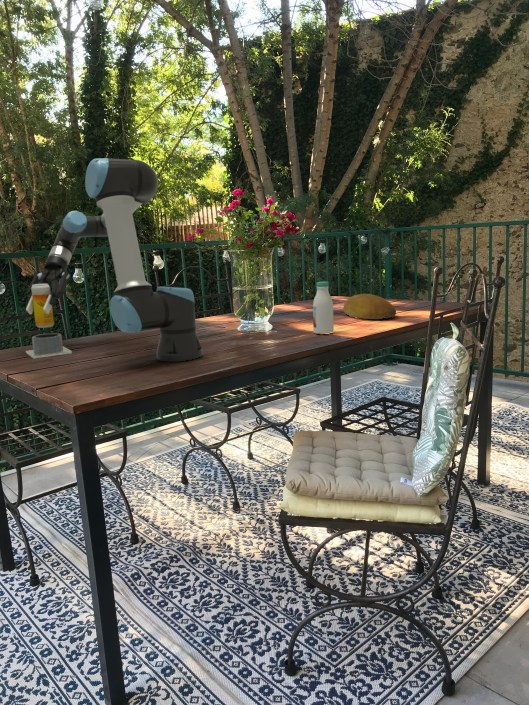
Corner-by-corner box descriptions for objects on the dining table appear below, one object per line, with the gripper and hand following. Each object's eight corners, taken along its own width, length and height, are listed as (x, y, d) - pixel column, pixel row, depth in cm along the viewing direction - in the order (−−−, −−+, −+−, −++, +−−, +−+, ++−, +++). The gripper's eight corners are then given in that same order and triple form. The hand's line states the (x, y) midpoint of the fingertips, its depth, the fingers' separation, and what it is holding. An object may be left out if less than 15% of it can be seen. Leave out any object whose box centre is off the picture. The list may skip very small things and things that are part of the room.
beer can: (48, 328, 202) (43, 285, 199) (32, 328, 204) (27, 285, 201) (57, 325, 208) (52, 283, 205) (42, 325, 210) (37, 283, 206)
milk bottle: (336, 332, 225) (336, 281, 221) (328, 335, 219) (327, 282, 215) (319, 331, 229) (318, 280, 225) (310, 334, 223) (308, 282, 219)
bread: (367, 310, 285) (367, 290, 283) (404, 319, 252) (404, 296, 250) (332, 313, 280) (332, 292, 278) (365, 323, 247) (365, 299, 245)
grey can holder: (71, 353, 206) (70, 335, 204) (33, 358, 199) (31, 340, 197) (62, 348, 216) (60, 331, 215) (26, 352, 210) (23, 335, 208)
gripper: (85, 267, 215) (66, 318, 202) (40, 268, 219) (18, 318, 206) (76, 253, 208) (56, 305, 196) (30, 255, 213) (7, 305, 200)
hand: (37, 311), depth 201 cm, fingers closed on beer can, 6 cm apart
